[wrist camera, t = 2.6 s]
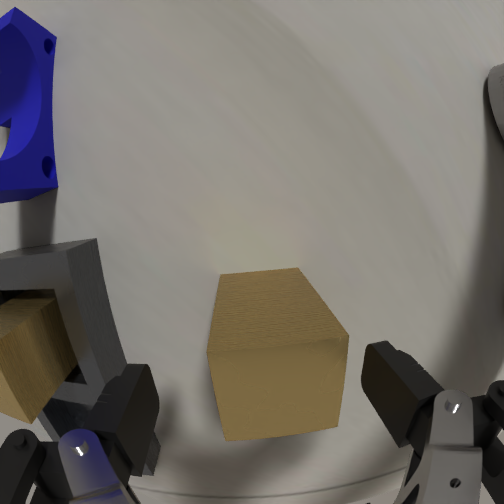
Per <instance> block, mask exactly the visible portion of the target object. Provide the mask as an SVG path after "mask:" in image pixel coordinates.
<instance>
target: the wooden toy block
mask: <svg viewBox="0 0 504 504" xmlns="http://www.w3.org/2000/svg"><path fill="white" fill-rule="evenodd" d="M348 343H349V335H348V333H347V332H346V331H345V329H344V328H343V326H342V325H341V324H340V322H339V321H338V320H337V318H336V317H335V316H334V314H333V313H332V312H331V310H330V309H329V308H328V306H327V305H326V304H325V302H324V301H323V300H322V298H321V297H320V296H319V294H318V293H317V292H316V290H315V289H314V288H313V286H312V285H311V284H310V283H309V281H308V280H307V279H306V277H305V276H304V275H303V273H302V272H301V271H300V269H299V268H288V269H278V270H267V271H256V272H245V273H233V274H221V275H220V280H219V285H218V291H217V296H216V301H215V307H214V312H213V318H212V324H211V329H210V335H209V341H208V346H207V356H208V362H209V367H210V372H211V377H212V382H213V387H214V392H215V397H216V401H217V406H218V411H219V415H220V420H221V424H222V428H223V432H224V437H225V441H236V440H251V439H263V438H272V437H281V436H288V435H295V434H302V433H308V432H313V431H319V430H324V429H329V428H334V427H337V426H338V421H339V415H340V408H341V402H342V395H343V388H344V380H345V372H346V363H347V353H348Z"/></svg>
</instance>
